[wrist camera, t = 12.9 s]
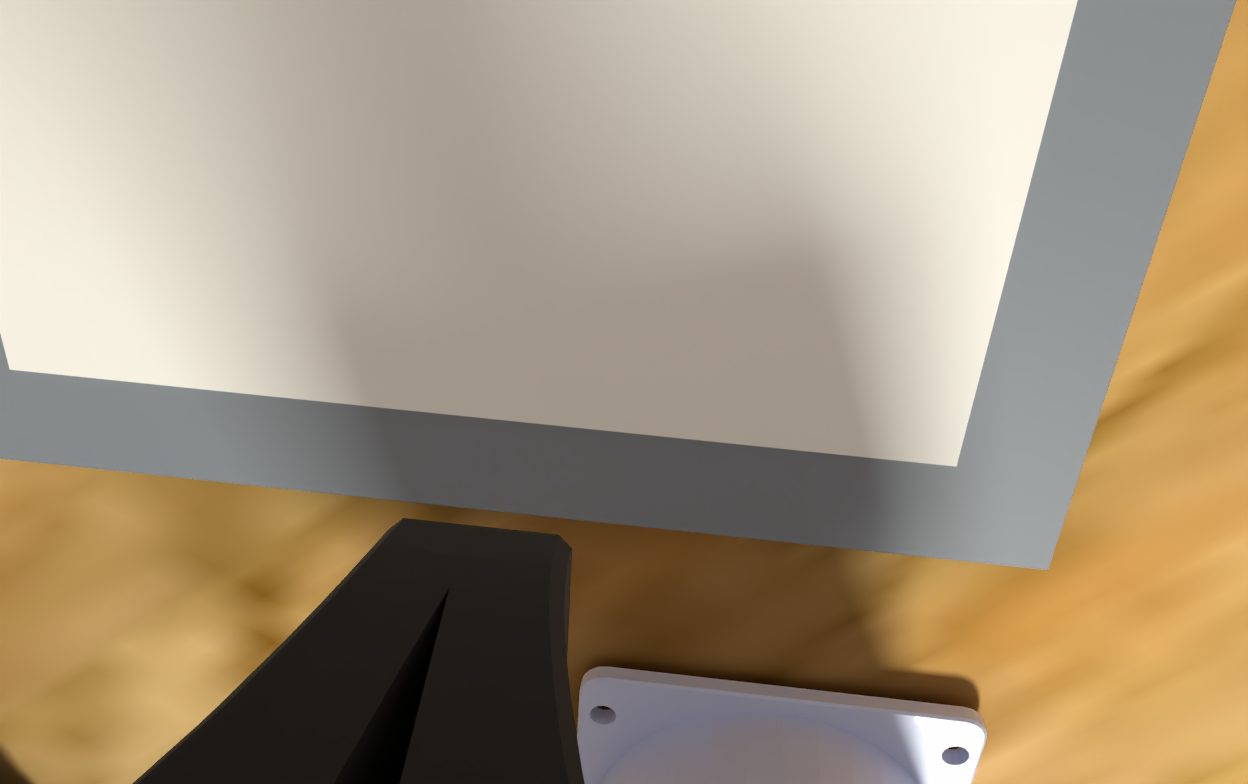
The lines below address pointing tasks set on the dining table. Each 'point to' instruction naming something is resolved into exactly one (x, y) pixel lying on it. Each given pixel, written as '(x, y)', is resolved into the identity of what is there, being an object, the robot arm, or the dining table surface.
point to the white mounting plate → (594, 251)
